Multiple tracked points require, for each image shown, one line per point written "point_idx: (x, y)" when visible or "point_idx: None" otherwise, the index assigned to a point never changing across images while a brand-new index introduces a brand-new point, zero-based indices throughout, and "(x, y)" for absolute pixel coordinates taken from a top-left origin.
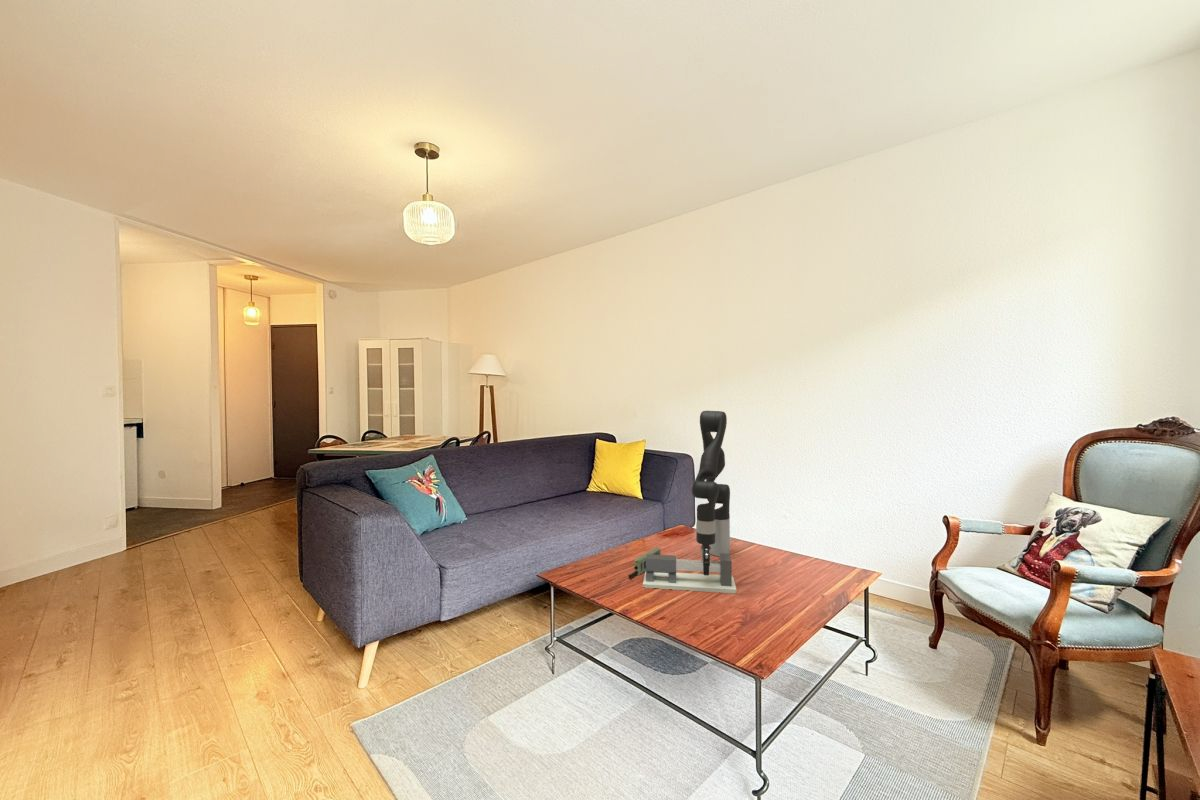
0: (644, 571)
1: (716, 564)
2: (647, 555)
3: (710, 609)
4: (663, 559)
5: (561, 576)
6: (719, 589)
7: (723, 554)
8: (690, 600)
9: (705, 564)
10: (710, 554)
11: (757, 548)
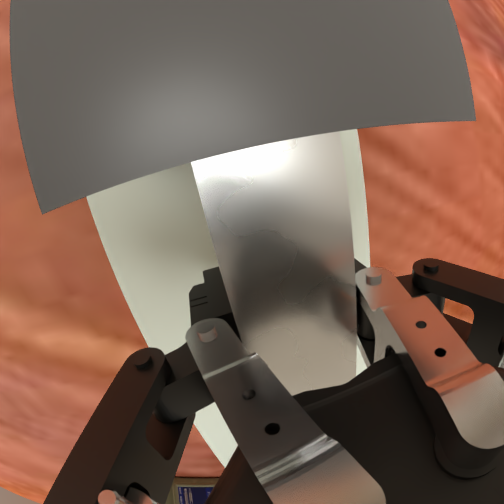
0: (216, 480)
1: (344, 187)
2: None
3: (486, 168)
4: None
5: None
6: (353, 131)
7: (80, 86)
8: (442, 260)
9: (443, 306)
10: (465, 346)
11: None
